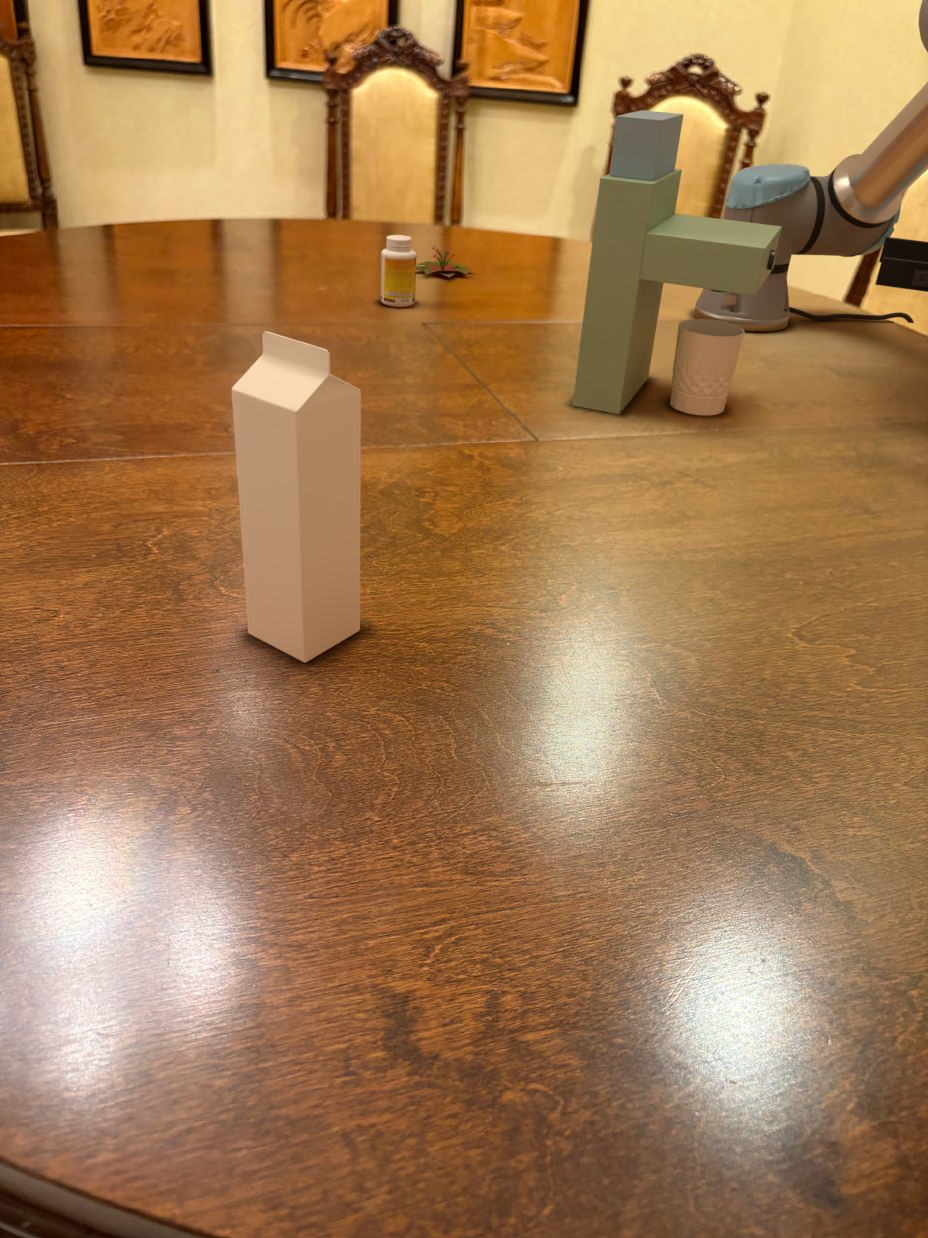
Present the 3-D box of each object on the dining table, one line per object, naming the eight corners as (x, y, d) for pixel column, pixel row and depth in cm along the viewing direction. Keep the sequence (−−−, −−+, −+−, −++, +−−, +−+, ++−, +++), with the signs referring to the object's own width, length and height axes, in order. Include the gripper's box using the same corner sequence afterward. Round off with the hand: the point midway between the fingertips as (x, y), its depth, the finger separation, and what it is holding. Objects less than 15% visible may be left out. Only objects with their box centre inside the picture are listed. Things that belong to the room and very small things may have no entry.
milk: (304, 604, 76) (295, 321, 65) (361, 631, 74) (363, 340, 62) (246, 634, 72) (226, 338, 61) (304, 665, 69) (295, 359, 58)
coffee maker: (749, 396, 127) (809, 124, 110) (731, 435, 114) (795, 134, 98) (605, 371, 133) (641, 108, 116) (572, 405, 120) (607, 116, 103)
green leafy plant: (486, 273, 180) (488, 247, 178) (451, 283, 171) (453, 256, 169) (433, 262, 185) (434, 237, 183) (396, 272, 176) (397, 245, 174)
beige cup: (729, 421, 118) (746, 339, 113) (664, 413, 120) (678, 332, 114) (727, 400, 125) (743, 322, 120) (665, 393, 126) (679, 315, 121)
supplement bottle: (420, 306, 156) (422, 240, 151) (388, 308, 154) (389, 241, 149) (406, 298, 161) (408, 233, 155) (375, 300, 158) (376, 234, 153)
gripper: (1091, 230, 109) (892, 208, 115) (1131, 271, 89) (888, 241, 95) (1066, 299, 113) (874, 273, 119) (1098, 352, 93) (866, 318, 99)
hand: (880, 259), depth 107 cm, fingers open, 13 cm apart
